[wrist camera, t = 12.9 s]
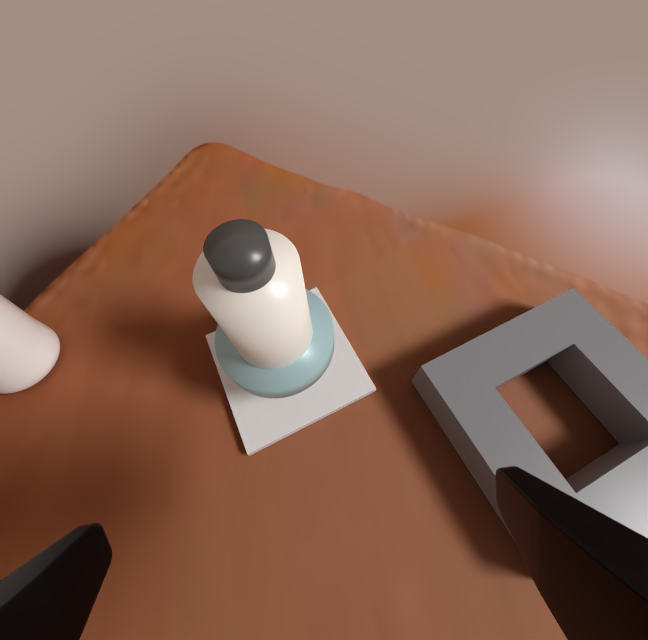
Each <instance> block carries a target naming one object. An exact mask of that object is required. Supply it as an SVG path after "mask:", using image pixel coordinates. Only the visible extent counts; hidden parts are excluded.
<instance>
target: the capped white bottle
mask: <svg viewBox="0 0 648 640" xmlns="http://www.w3.org/2000/svg"><path fill="white" fill-rule="evenodd" d="M193 286H194V290H195V292H196V294H197V296H198V297H199V299H200V300H201V301H202V303H203V304H204V306H205V307H206V308H207V310H208V311H209V312H210V314H211V315H212V316H213V318H214V319H215V321H216V322H217V323H218V326H217V329H216V334H215V352H216V356H217V359H218V361H219V363H220V365H221V367H222V369H223V370H224V371H225V373H226V374H227V375H228V376H229V377H230V378H231V379H232V380H233V381H234V382H235V383H236V384H237V385H238V386H239V387H240V388H242V389H243V390H245V391H246V392H248V393H250V394H253V395H255V396H259V397H262V398H270V399H271V398H285V397H289V396H293V395H296V394H298V393H300V392H302V391H304V390H306V389H308V388H309V387H310V386H312V385H313V384H314V383H316V382H317V381H318V380H319V379H320V378H321V376H322V375H323V374H324V373H325V371H326V369H327V368H328V366H329V364H330V362H331V359H332V356H333V352H334V326H333V321H332V317H331V314H330V312H329V310H328V308H327V307H326V305H325V304H324V303H323V301H322V300H321V299H320V298H319V297H318V296H316V295H315V294H314V293H312V292H311V291H309V290H307V289H305V284H304V279H303V274H302V268H301V263H300V258H299V255H298V252H297V250H296V248H295V246H294V245H293V244H292V243H291V242H290V240H289V239H287V238H286V237H285V236H283V235H281V234H280V233H277V232H275V231H272V230H269V229H264V228H263V227H262V226H261V225H260V224H258V223H256V222H254V221H251V220H245V219H238V220H232V221H228V222H225V223H223V224H221V225H219V226H218V227H216V228H215V229H214V230H212V231H211V232H210V233H209V235H208V236H207V238H206V240H205V242H204V246H203V252H202V254H201V255H200V256H199V258H198V260H197V262H196V264H195V267H194V271H193Z"/></svg>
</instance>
